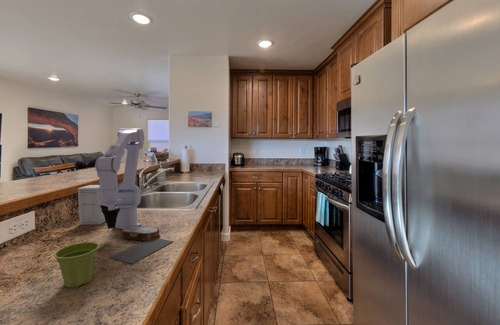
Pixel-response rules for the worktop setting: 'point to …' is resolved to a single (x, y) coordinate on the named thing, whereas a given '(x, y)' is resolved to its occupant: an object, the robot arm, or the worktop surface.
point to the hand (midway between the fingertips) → (110, 225)
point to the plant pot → (77, 263)
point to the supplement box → (90, 205)
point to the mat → (140, 250)
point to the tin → (140, 233)
